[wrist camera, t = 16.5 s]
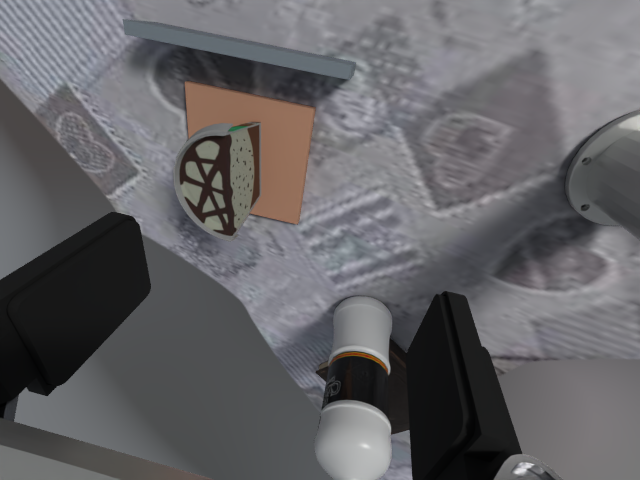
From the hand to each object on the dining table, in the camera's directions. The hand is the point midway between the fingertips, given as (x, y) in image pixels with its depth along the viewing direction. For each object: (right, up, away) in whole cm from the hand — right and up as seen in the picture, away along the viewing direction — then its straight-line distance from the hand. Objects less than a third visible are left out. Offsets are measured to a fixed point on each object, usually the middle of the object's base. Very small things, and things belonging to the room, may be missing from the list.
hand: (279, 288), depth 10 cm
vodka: (+8, -10, +41) cm, 43 cm away
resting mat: (-8, +12, +30) cm, 33 cm away
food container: (-9, +12, +29) cm, 33 cm away
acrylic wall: (-6, +22, +23) cm, 33 cm away
